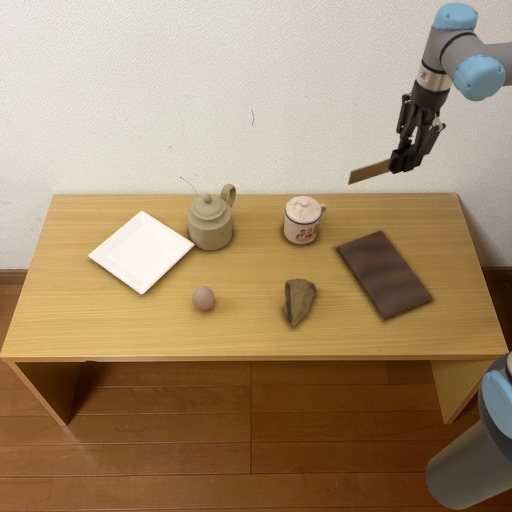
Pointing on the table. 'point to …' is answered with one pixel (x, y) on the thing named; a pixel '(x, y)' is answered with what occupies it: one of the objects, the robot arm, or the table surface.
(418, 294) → the cutting board
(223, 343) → the table surface
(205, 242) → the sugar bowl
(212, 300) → the egg
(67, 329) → the table surface
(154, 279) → the plate
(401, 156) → the knife
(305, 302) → the rock
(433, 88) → the robot arm
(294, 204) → the teacup with lid
